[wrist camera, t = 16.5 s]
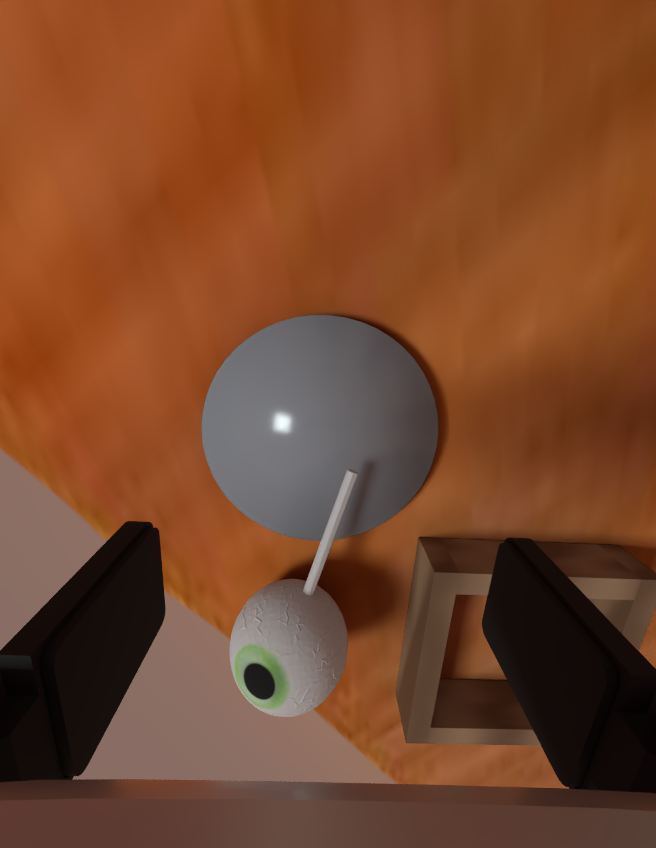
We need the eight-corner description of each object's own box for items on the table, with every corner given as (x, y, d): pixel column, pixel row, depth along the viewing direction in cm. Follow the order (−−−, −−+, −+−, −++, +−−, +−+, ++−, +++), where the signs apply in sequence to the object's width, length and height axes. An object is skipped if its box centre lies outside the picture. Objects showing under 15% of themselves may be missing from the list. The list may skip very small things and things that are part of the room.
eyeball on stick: (398, 514, 16) (291, 783, 18) (422, 487, 22) (341, 687, 24) (269, 451, 18) (188, 693, 20) (324, 444, 25) (259, 628, 27)
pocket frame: (618, 545, 25) (665, 580, 21) (568, 696, 29) (602, 746, 25) (418, 537, 24) (434, 572, 21) (395, 692, 28) (406, 743, 25)
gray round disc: (450, 322, 20) (455, 322, 20) (418, 537, 24) (421, 544, 23) (201, 307, 20) (196, 306, 19) (209, 529, 24) (206, 536, 23)
